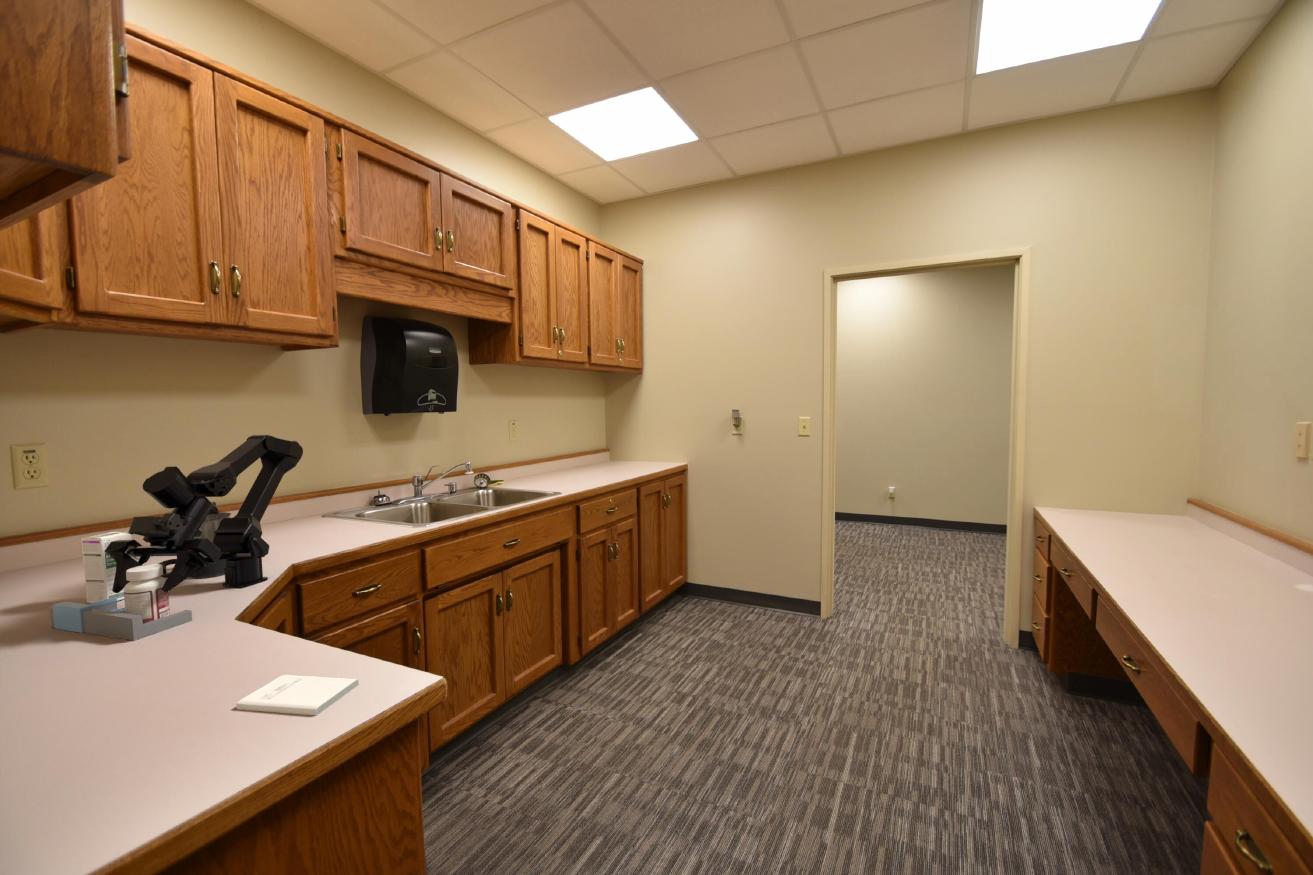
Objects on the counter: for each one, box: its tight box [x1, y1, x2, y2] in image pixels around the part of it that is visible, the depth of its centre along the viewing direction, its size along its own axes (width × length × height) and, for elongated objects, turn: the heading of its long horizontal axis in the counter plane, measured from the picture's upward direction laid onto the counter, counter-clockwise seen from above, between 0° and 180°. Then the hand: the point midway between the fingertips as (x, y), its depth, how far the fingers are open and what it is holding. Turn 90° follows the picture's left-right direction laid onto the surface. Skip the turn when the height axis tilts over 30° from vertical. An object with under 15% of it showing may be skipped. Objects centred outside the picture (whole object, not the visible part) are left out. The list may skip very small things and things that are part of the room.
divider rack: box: [49, 598, 193, 641], centre depth 107 cm, size 24×10×5 cm, turn 73°
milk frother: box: [158, 511, 232, 579], centre depth 138 cm, size 14×16×15 cm
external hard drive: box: [236, 674, 360, 716], centre depth 79 cm, size 2×8×12 cm
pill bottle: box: [123, 563, 171, 624], centre depth 105 cm, size 6×6×11 cm
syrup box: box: [80, 531, 132, 604], centre depth 120 cm, size 6×6×14 cm
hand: (139, 591), depth 104 cm, fingers open, 9 cm apart
